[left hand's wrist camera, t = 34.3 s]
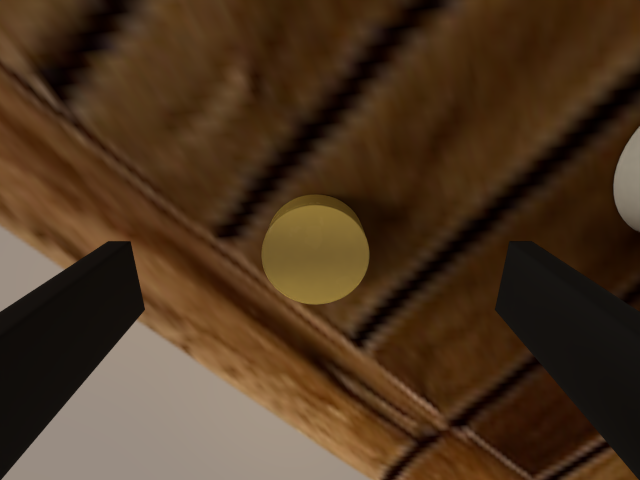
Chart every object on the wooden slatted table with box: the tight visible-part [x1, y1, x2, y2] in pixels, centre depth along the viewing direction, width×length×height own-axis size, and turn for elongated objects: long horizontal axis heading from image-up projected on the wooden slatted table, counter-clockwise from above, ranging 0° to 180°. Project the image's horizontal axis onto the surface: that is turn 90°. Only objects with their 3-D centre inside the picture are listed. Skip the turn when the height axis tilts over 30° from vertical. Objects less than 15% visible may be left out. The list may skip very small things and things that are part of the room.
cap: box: [261, 194, 369, 304], centre depth 16 cm, size 5×5×2 cm
